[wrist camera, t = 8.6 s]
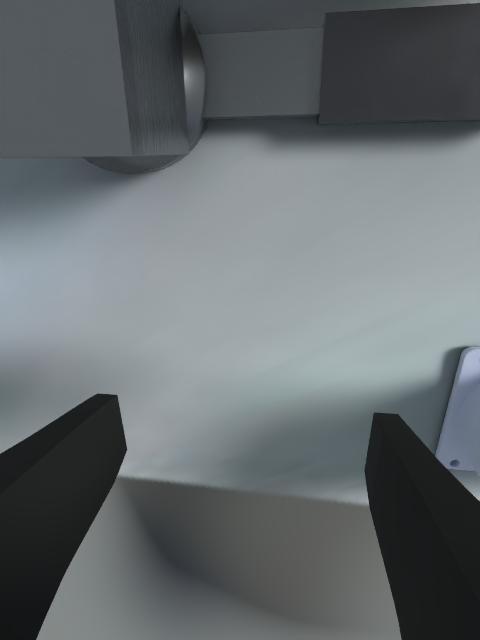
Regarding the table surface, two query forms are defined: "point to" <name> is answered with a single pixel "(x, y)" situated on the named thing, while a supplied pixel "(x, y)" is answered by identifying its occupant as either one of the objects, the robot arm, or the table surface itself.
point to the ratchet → (330, 73)
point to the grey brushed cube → (91, 78)
